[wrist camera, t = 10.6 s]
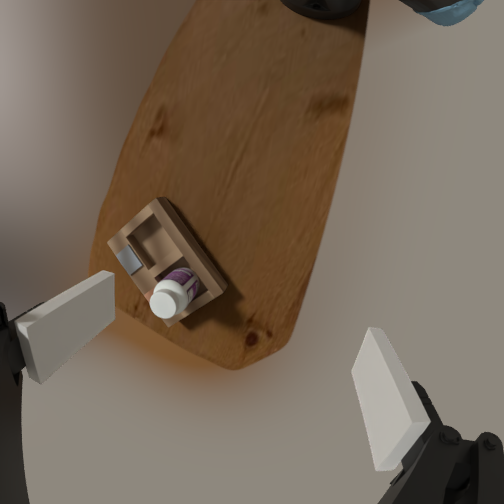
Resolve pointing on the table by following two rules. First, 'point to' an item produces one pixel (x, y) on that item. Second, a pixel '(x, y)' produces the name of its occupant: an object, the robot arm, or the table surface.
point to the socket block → (164, 254)
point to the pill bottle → (174, 292)
